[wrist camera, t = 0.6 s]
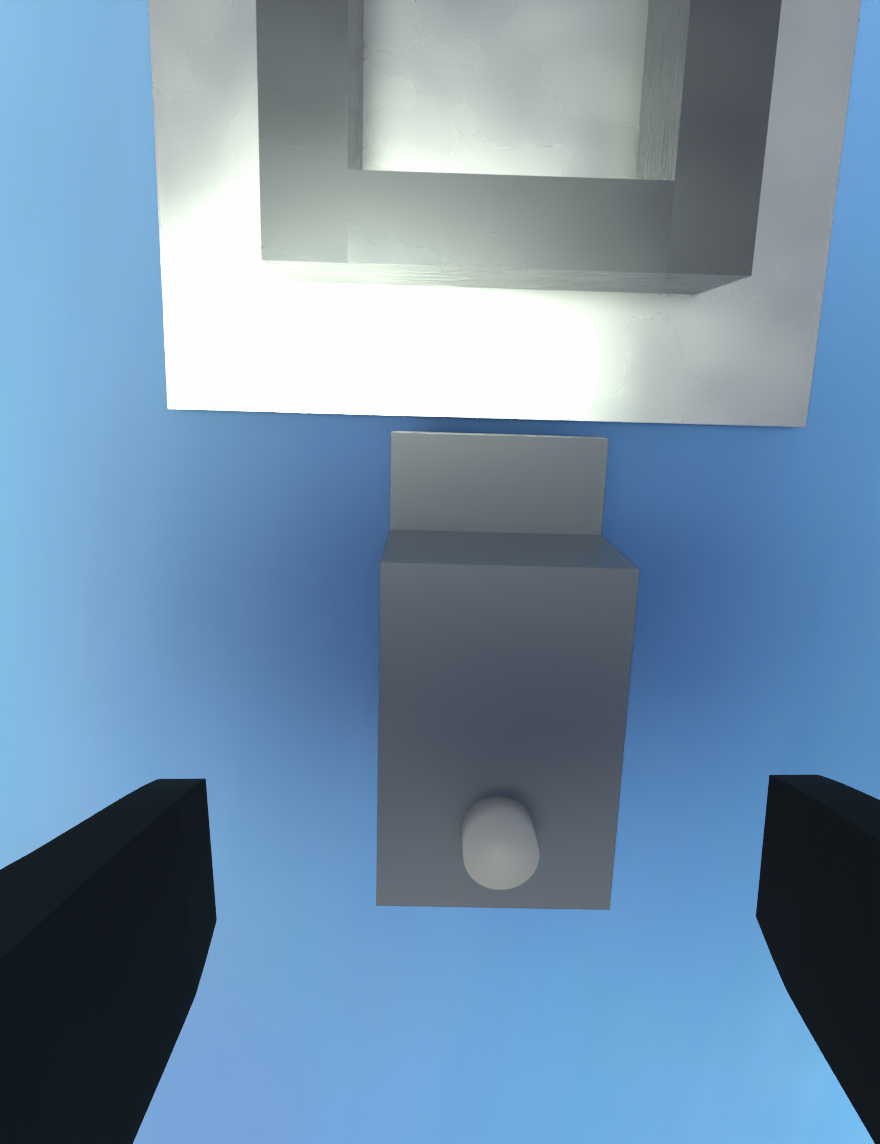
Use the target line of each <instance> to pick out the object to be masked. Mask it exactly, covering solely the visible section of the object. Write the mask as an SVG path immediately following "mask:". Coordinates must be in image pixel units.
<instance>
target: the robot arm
mask: <svg viewBox="0 0 880 1144" xmlns="http://www.w3.org/2000/svg"><path fill="white" fill-rule="evenodd" d="M756 918H757V920H758V923H759V925H760V928H761V930H762V933H763V935H764V938H765V940H766V943H767V945H768V948H769V950H770V953H771V955H772V958H773V960H774V962H775V965H776V967H777V969H778V972H779V974H780V976H781V979H782V981H783V983H784V985H785V988H786V990H787V992H788V994H789V996H790V997H791V999H792V1001H793V1003H794V1005H795V1006H796V1008H797V1010H798V1012H799V1014H800V1015H801V1017H802V1019H803V1021H804V1022H805V1024H806V1026H807V1028H808V1029H809V1031H810V1033H811V1035H812V1036H813V1038H814V1040H815V1042H816V1043H817V1045H818V1047H819V1049H820V1050H821V1052H822V1054H823V1055H824V1057H825V1059H826V1061H827V1062H828V1064H829V1066H830V1067H831V1069H832V1071H833V1073H834V1074H835V1076H836V1078H837V1079H838V1081H839V1083H840V1085H841V1086H842V1088H843V1090H844V1091H845V1093H846V1095H847V1097H848V1098H849V1100H850V1102H851V1103H852V1105H853V1107H854V1109H855V1110H856V1112H857V1114H858V1115H859V1117H860V1119H861V1121H862V1122H863V1124H864V1126H865V1127H866V1129H867V1131H868V1132H869V1134H870V1136H871V1138H872V1139H873V1141H874V1143H875V1144H880V800H878V799H876V798H874V797H872V796H869V795H867V794H865V793H863V792H861V791H858V790H856V789H854V788H852V787H849V786H847V785H844V784H842V783H840V782H837V781H834V780H832V779H829V778H826V777H823V776H820V775H769V786H768V796H767V806H766V817H765V827H764V838H763V848H762V859H761V869H760V879H759V890H758V900H757V911H756ZM215 924H216V907H215V894H214V881H213V868H212V855H211V842H210V829H209V817H208V804H207V791H206V779H157V780H155V781H153V782H151V783H148V784H146V785H144V786H142V787H140V788H139V789H137V790H135V791H133V792H131V793H130V794H128V795H126V796H124V797H123V798H121V799H119V800H118V801H116V802H114V803H113V804H111V805H109V806H108V807H106V808H104V809H103V810H101V811H99V812H98V813H96V814H94V815H93V816H91V817H90V818H88V819H86V820H85V821H83V822H81V823H80V824H78V825H76V826H75V827H73V828H71V829H70V830H68V831H66V832H65V833H63V834H61V835H60V836H58V837H56V838H55V839H53V840H51V841H50V842H48V843H46V844H45V845H43V846H41V847H40V848H38V849H36V850H35V851H33V852H31V853H30V854H28V855H26V856H24V857H22V858H21V859H19V860H17V861H15V862H13V863H12V864H10V865H8V866H6V867H4V868H3V869H1V870H0V1144H133V1142H134V1139H135V1137H136V1135H137V1132H138V1130H139V1128H140V1125H141V1123H142V1121H143V1118H144V1116H145V1114H146V1111H147V1109H148V1107H149V1104H150V1102H151V1100H152V1097H153V1095H154V1093H155V1090H156V1088H157V1086H158V1083H159V1081H160V1079H161V1076H162V1074H163V1072H164V1069H165V1067H166V1065H167V1062H168V1060H169V1058H170V1055H171V1053H172V1051H173V1048H174V1046H175V1043H176V1041H177V1039H178V1036H179V1034H180V1031H181V1029H182V1027H183V1024H184V1022H185V1020H186V1017H187V1015H188V1012H189V1010H190V1007H191V1005H192V1003H193V1000H194V998H195V995H196V992H197V988H198V985H199V982H200V978H201V975H202V971H203V968H204V965H205V961H206V958H207V954H208V950H209V946H210V943H211V939H212V935H213V931H214V928H215Z"/></svg>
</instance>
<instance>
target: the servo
mask: <svg viewBox="0 0 880 1144" xmlns="http://www.w3.org/2000/svg"><path fill="white" fill-rule="evenodd" d="M608 441H609V439H607V438H604V437H587V436H552V435H517V434H482V433H447V432H412V431H392V432H391V474H390V530H389V534H388V537H387V541H386V545H385V548H384V552H383V555H382V559H381V562H380V643H379V725H378V806H377V887H376V906H428V907H484V908H539V909H594V910H610V900H611V889H612V877H613V866H614V855H615V843H616V832H617V820H618V809H619V798H620V786H621V775H622V763H623V752H624V741H625V729H626V718H627V706H628V695H629V684H630V672H631V661H632V649H633V638H634V627H635V615H636V604H637V592H638V581H639V570H640V569H639V568H638V567H637V566H636V565H634V564H633V563H632V562H631V561H630V560H629V559H628V558H626V557H625V556H624V555H623V554H622V553H621V552H620V551H619V550H617V549H616V548H615V547H614V546H613V545H612V544H611V543H610V542H608V541H607V540H606V539H605V538H604V537H603V536H602V535H601V533H602V520H603V506H604V493H605V480H606V467H607V454H608Z"/></svg>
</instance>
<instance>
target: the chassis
mask: <svg viewBox="0 0 880 1144" xmlns="http://www.w3.org/2000/svg"><path fill="white" fill-rule="evenodd" d="M860 7H861V0H149V21H150V42H151V63H152V85H153V106H154V127H155V148H156V169H157V191H158V212H159V233H160V254H161V275H162V297H163V318H164V339H165V360H166V382H167V403H168V409H189V410H224V411H259V412H294V413H328V414H363V415H398V416H433V417H467V418H502V419H537V420H572V421H606V422H641V423H676V424H711V425H745V426H780V427H806V423H807V415H808V407H809V400H810V392H811V384H812V376H813V369H814V361H815V353H816V346H817V338H818V330H819V323H820V315H821V307H822V299H823V292H824V284H825V276H826V269H827V261H828V253H829V246H830V238H831V230H832V223H833V215H834V207H835V199H836V192H837V184H838V176H839V169H840V161H841V153H842V146H843V138H844V130H845V122H846V115H847V107H848V99H849V92H850V84H851V76H852V69H853V61H854V53H855V45H856V38H857V30H858V22H859V15H860Z"/></svg>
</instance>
